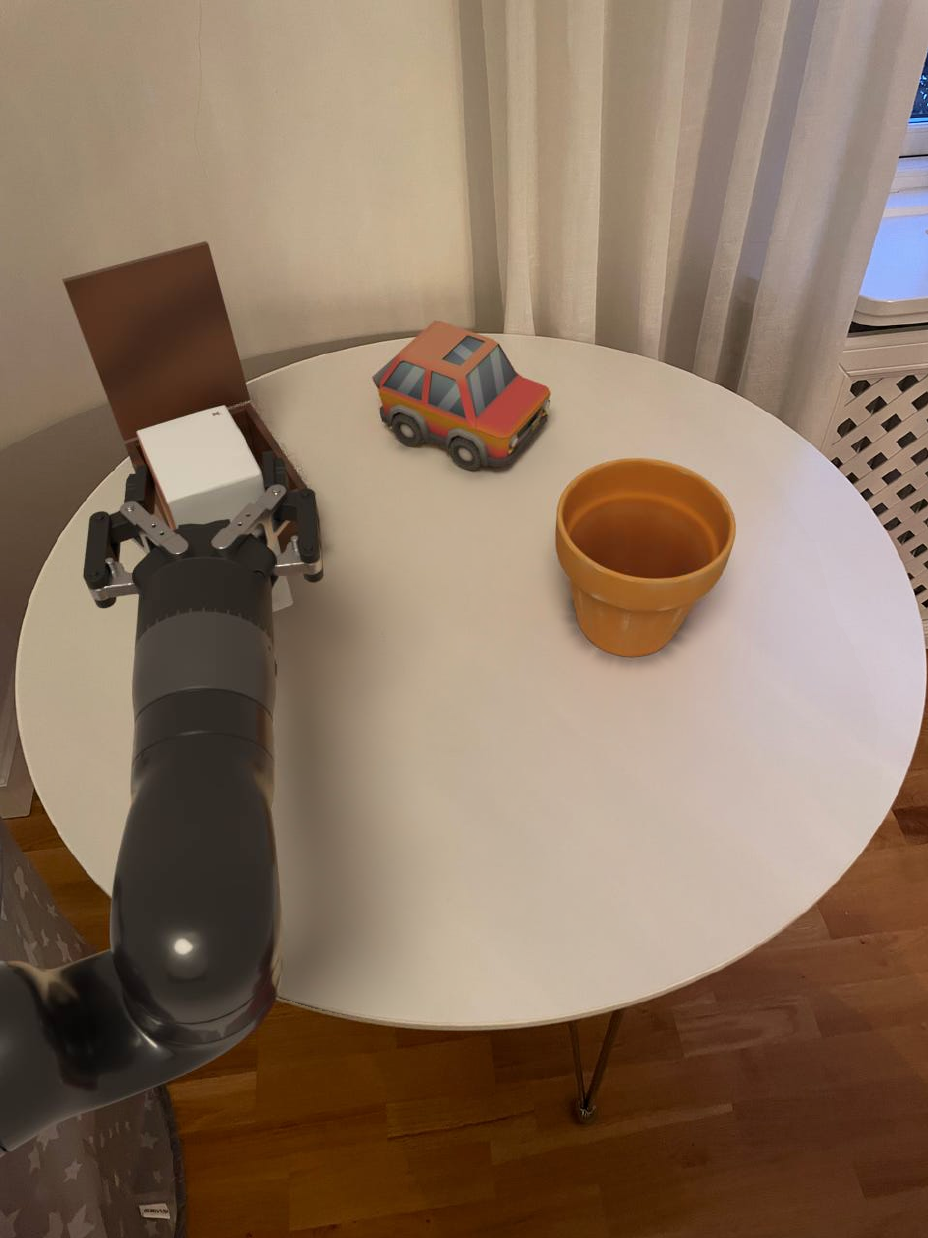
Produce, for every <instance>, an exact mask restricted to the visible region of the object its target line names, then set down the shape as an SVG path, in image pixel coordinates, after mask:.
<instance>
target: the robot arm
mask: <svg viewBox="0 0 928 1238" xmlns="http://www.w3.org/2000/svg"><path fill="white" fill-rule="evenodd" d="M262 455H263V478H264V489H265V493H264V494H263V495H262V496H261V497H260V498H259V499H258V500H257V502H256V503H255V504H253V503H248V504H247V505H246V506H245V507H244V509H243V510H242V511H241V512H240V513H239V514H238V515H237V516H236V517H235V519H234V520H233V521H232V522H231V523H230V519H225V520H217V521H213V522H210V523H207V524H182V525H178V529H176V530H173V531H172V530H171V529H170V528H169V527H168V526H167V525H166V524H165V523H164V522H163V521H162V520H160V519H159V518H158V517H157V516H156V515H155V514H154V510H155V494H156V488H155V483H154V480H153V477H152V474H151V472H150V469H149V466H148V464H147V465H138V466H136V473H135V472H134V473H129V474H128V476H127V478H126V479H125V490H124V501H123V503H122V504H121V505H120V507H119V510H118V511H115V512H113V513H110V514H109V513H108V512H107V511H104V510H100V511H96V512H94V513H92V514H91V515H90V516H89V520H88V528H87V536H86V547H85V554H84V555H85V556H84V563H83V564H84V565H83V574H82V577H83V580H84V582H85V584H86V586H87V589H88V591H89V593H90V595H91V597H92V599H93V601H94V603H95V605H96V607H97V608H99V609H109V608H111V607H112V606H115V604H116V602H117V598H118V597H124V596H133V595H138V599H137V600H138V603H137V614H136V615H137V616H136V630H135V641H134V653H133V655H134V656H133V667H132V680H131V684H132V685H131V686H132V687H131V700H132V701H131V702H132V710H133V721H134V722H133V740H132V750H131V751H132V753H131V768H130V787H129V788H130V806H129V810H128V812H127V816H126V820H125V824H124V829H123V832H122V837H121V842H120V846H119V851H118V855H117V860H116V866H115V870H114V878H113V883H112V889H111V890H112V891H111V899H110V911H109V912H110V913H109V944H110V946H109V947H110V948H109V949H106V950H102V951H100V952H97V953H94V954H91V955H89V956H86V957H84V958H83V957H82V958H80V959H78V960H75V961H72V962H69V963H67V964H64V965H63V964H62V965H61V966H58V967H54V968H43V967H39V966H37V965H35V964H32V963H30V962H28V961H25V960H23V959H22V960H21V959H6V960H5V959H4V960H0V1158H2V1157H4V1156H6V1155H7V1153H8V1151H9V1152H13V1151H15V1150H16V1149H18V1148H19V1147H21V1146H23V1145H24V1144H26V1143H27V1142H29V1141H30V1140H32V1139H34V1138H36V1137H37V1136H38V1135H40V1134H41V1133H43V1132H45V1131H46V1130H48V1129H50V1128H52V1127H53V1126H55V1125H58V1124H59V1123H62V1122H64V1121H66V1120H69V1119H72V1118H74V1117H76V1116H80V1115H82V1114H86V1113H88V1112H92V1111H95V1110H98V1109H101V1108H105V1107H107V1106H110V1105H112V1104H115V1103H117V1102H120V1101H123V1100H125V1099H127V1098H130V1097H133V1096H136V1095H138V1094H141V1093H143V1092H145V1091H148V1090H151V1089H154V1088H156V1087H158V1086H162V1085H164V1084H166V1083H169V1082H170V1081H173V1080H175V1079H178V1078H181V1077H183V1076H185V1075H188V1074H189V1073H191V1072H194V1071H195V1070H197V1069H199V1068H201V1067H203V1066H205V1065H207V1064H209V1063H211V1062H212V1061H214V1060H216V1059H217V1058H220V1057H221V1056H223V1055H224V1054H226V1053H227V1052H229V1051H230V1050H232V1049H234V1048H235V1047H237V1045H239V1044H241V1043H242V1042H243V1041H245V1039H247V1038H248V1037H249V1036H251V1034H252V1033H253V1032H255V1031H256V1029H258V1028H259V1026H260V1025H261V1024H262V1022H264V1021H265V1019H266V1018H267V1017H268V1015H269V1013H270V1012H271V1010H272V1008H273V1007H274V1004H275V1002H276V1000H277V998H278V996H279V993H280V989H281V984H282V978H283V908H282V893H281V881H280V870H279V869H280V868H279V860H278V859H279V858H278V849H277V839H276V831H275V825H274V824H275V823H274V816H273V815H274V814H273V805H274V798H275V785H276V776H275V775H276V768H275V767H276V762H275V761H276V760H275V759H276V758H275V739H274V712H275V704H276V696H277V695H276V694H277V677H278V663H277V661H276V660H277V659H276V658H275V657H276V656H275V634H274V612H273V609H272V589H273V586H274V584H275V583H276V581H277V580H278V578H279V576H294V575H295V576H296V575H303V578H304V580H305V581H306V582H307V583H310V584H314V583H319V582H320V581H322V580H323V579H324V577H325V575H324V562H323V561H324V560H323V547H322V535H321V533H322V532H321V520H320V515H319V514H320V513H319V509H318V504H317V499H316V492H315V491H314V489H312V488H309V487H308V488H304V489H301V490H299V491H298V492H297V493H295V492H291V491H290V490H289V485H288V475H287V470H286V465H285V462H284V460H283V459H282V458H275V457H274V452H273V451H269V452H262ZM290 521H294V522H297V528H298V536H292V537H291V542H289V543H288V544H287V547H286V550H285V552H283V553H282V554H280V555H275V553H274V552H273V551H272V549H273V548H274V546H275V543H276V538H277V536H278V535H279V534H280V533H281V532H282V530H283V529H284V528H285V527H286V526H287V524H288V523H289V522H290ZM129 540H131V541H132V542H133V543H134V544H135V545H137V547H138V548H140V550H142V551H143V552H144V553H145V556H144V557H143V558H142V559H141V560H139V562H138V563H137V564H136V565H135V566H134V568H133V570H132V572H128V571H126V570H125V567H124V565H123V564H122V563H121V562H120V558H121V546H122V545H121V543H124V542H126V541H129Z"/></svg>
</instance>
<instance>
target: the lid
mask: <svg viewBox="0 0 928 1238" xmlns="http://www.w3.org/2000/svg"><path fill="white" fill-rule="evenodd" d="M211 251H212V250H211V248H210V244H209V243H208V241H207V240H204V241H201V242H197V243H193V244H189V245H185V246H181V247H178V248H174V249H171V250H167V251H163V252H159V253H155V254H152V255H148V256H143V257H140V258H137V259H133V260H128V261H125V262H121V263H118V264H115V265H111V266H107V267H102V268H99V269H96V270H92V271H87V272H85V273H81V274H76V275H73V276H69V277H66V278H63V279H61V280H62V283H63V285H64V288H65V291H66V294H67V296H68V299H69V302H70V304H71V307H72V309H73V313H74V315H75V318H76V320H77V322H78V325H79V328H80V331H81V333H82V336H83V338H84V339H83V340H84V341H85V343H86V347H87V349H88V351H89V354H90V357H91V360H92V362H93V365H94V368H95V370H96V372H97V375H98V378H99V380H100V383H101V385H102V388H103V391H104V394H105V396H106V399H107V402H108V404H109V407H110V409H111V412H112V414H113V415H112V416H113V417H114V420H115V423H116V425H117V428H118V430H119V433H120V436H121V438H122V441H124V442H126V441H129V440H132V439H136V438H138V437H137V434H136V432H137V431H138V430H142V429H145V428H148V427H151V426H154V425H157V424H161V423H164V422H168V421H170V420H174V419H177V418H180V417H184V416H187V415H190V414H194V413H197V412H201V411H204V410H208V409H212V408H215V407H219V406H223V405H225V406H226V408H227V409H228V408H230V407H233V406H237V405H240V404H242V403H245V402H248V401H250V400H251V396H250V392H249V388H248V386H247V382H246V378H245V374H244V370H243V367H242V364H241V359H240V355H239V351H238V348H237V345H236V341H235V337H234V334H233V330H232V325H231V321H230V319H229V315H228V312H227V307H226V303H225V300H224V296H223V292H222V289H221V285H220V282H219V281H220V280H219V278H218V273H217V270H216V267H215V263H214V262H215V261H214V258H213V255H212V252H211Z"/></svg>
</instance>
